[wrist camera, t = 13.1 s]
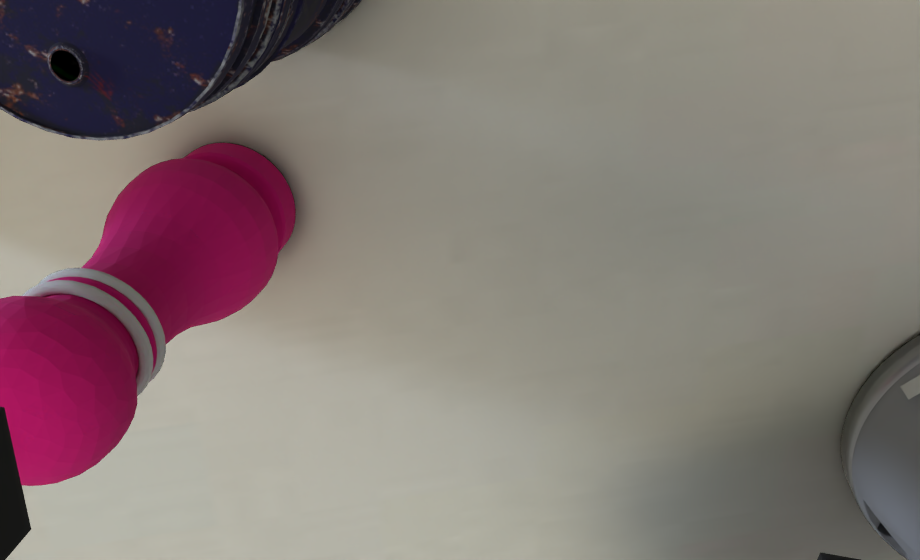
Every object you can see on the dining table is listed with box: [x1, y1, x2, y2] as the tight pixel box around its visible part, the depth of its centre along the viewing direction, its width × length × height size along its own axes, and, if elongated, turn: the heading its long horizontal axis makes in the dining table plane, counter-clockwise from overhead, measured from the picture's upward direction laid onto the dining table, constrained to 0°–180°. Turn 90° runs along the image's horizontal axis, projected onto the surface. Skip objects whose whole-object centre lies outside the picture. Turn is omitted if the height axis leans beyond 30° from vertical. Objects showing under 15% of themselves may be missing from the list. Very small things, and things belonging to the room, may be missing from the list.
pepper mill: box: [0, 143, 295, 486], centre depth 29 cm, size 7×7×20 cm
